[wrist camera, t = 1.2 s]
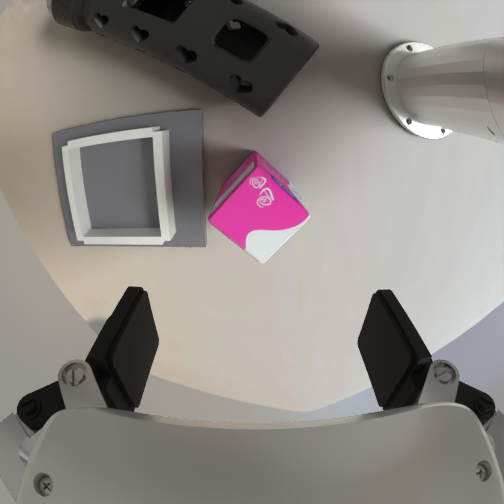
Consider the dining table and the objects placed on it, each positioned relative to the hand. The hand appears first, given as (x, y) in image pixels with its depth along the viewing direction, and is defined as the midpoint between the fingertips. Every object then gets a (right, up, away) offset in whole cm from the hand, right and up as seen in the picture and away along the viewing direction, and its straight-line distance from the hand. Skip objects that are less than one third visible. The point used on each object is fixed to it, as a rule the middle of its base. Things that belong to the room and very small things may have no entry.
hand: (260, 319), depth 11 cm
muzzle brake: (-8, +27, +11) cm, 31 cm away
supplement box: (0, +10, +20) cm, 22 cm away
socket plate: (-16, +11, +19) cm, 27 cm away
